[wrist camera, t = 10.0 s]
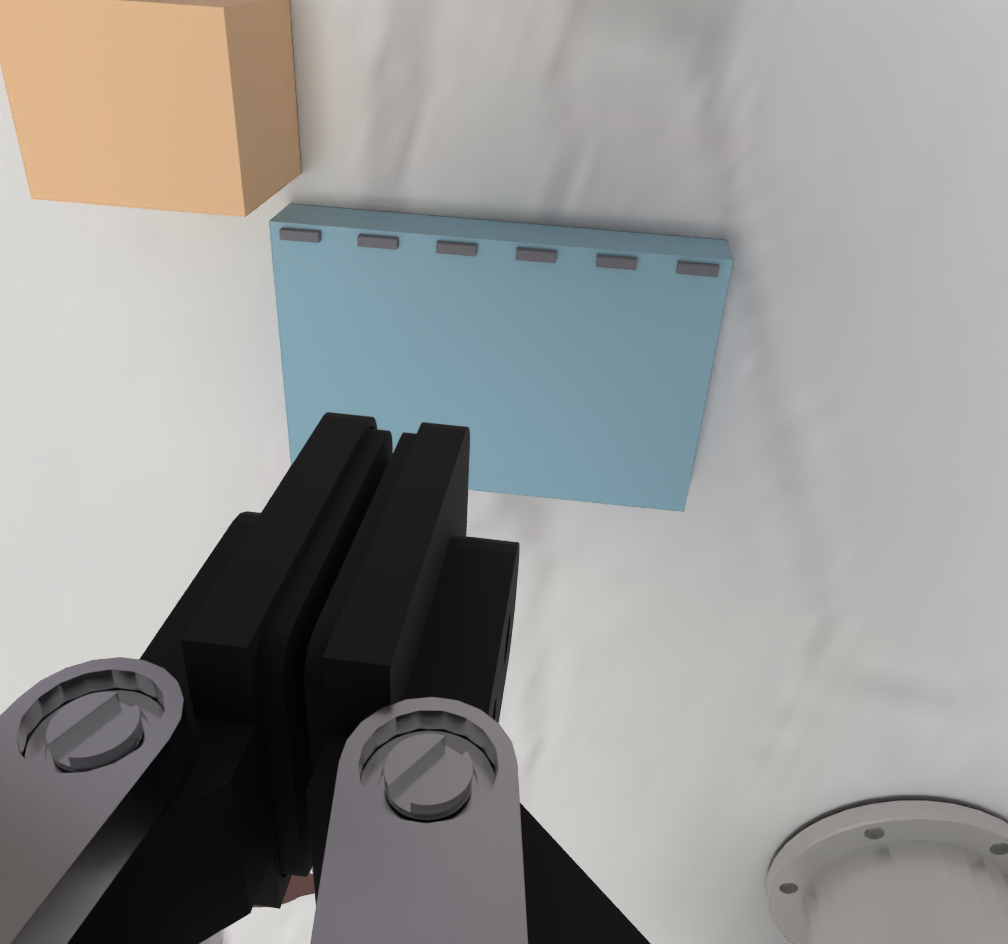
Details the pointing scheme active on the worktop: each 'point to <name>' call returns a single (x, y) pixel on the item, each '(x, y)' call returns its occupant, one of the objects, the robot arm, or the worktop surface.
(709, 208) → the worktop surface
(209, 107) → the tan block
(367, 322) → the blue flat block
